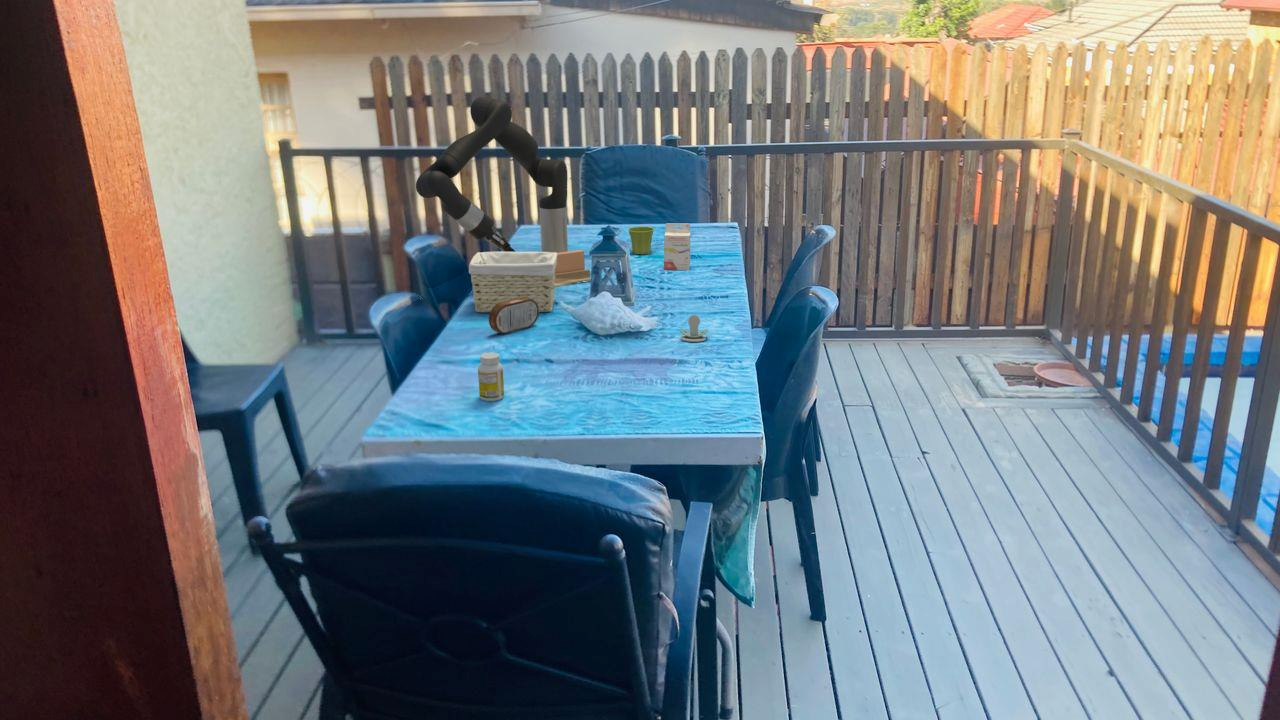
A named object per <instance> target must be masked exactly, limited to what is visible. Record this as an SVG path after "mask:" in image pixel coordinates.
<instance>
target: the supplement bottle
mask: <svg viewBox="0 0 1280 720" xmlns="http://www.w3.org/2000/svg"><path fill="white" fill-rule="evenodd" d="M479 358H480V364H479V365H478V366H477V375H478V377H477V378H478V391H479V399H481V400H482V401H485V402H496V401H500V400H502V399H503V398H504V397H505V388H504V387H505V386H504V385H505V383H504V367H503V365H502V364H501V363H500V354H498V353H497V352H486V353H482V354H481V355H480V356H479Z"/></svg>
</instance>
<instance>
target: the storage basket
mask: <svg viewBox="0 0 1280 720" xmlns="http://www.w3.org/2000/svg"><path fill="white" fill-rule="evenodd" d="M556 264H557V253H556V252H554V253H552V252H542V251H516V252H504V251H483V252H480V251H477V252H476V254H474V255H473V257H472V258H471V260H470V262H469V265H468V273H469V274H470V279H471V280H470V281H471V284H472V286H471V287H472V295H473V302H474V307H475V312H476V313H490V312H491V310H492V308H493V307H494V306H495V305H496V304H497V303H499V302H502V301H507V300H511V299H516V298H520V297H528V298H530V299H532V300H534V301H535V302H536V303H537V304H538V308H539V313H548V312H552V309H553V307H554V303H555V287H554V286H555V282H554V281H555V268H556Z"/></svg>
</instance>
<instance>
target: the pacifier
mask: <svg viewBox="0 0 1280 720" xmlns="http://www.w3.org/2000/svg"><path fill="white" fill-rule="evenodd" d="M700 319H701V318H700V316H698V315H697V314H691V315H690V316H689V317H688V320H687V322H688V326H689V330H686V329H683V328H680V329H679V333H681V335H683V336H682V337H680V340H681V341H684V342H688V343H698V342H699V343H700V342H704V341H706V340H707V338H706V337H705V335H706V334H707V333H708V332H709V329H703V330H699V327H700V326H699V325H700V323H701V320H700Z"/></svg>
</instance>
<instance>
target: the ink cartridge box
mask: <svg viewBox="0 0 1280 720" xmlns="http://www.w3.org/2000/svg"><path fill="white" fill-rule="evenodd" d="M676 227H680V228H676ZM691 234H692V233H691V224H690V223H677V222H676V223H675V222H674V223H672V222H671V223H670V222H669V223H668V222H667V223H666V224H665V233H664V239H663V240H664V241H663V242H664V243H663V270H664V271H666V270H668V271H690V266H691V236H692V235H691Z"/></svg>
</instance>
